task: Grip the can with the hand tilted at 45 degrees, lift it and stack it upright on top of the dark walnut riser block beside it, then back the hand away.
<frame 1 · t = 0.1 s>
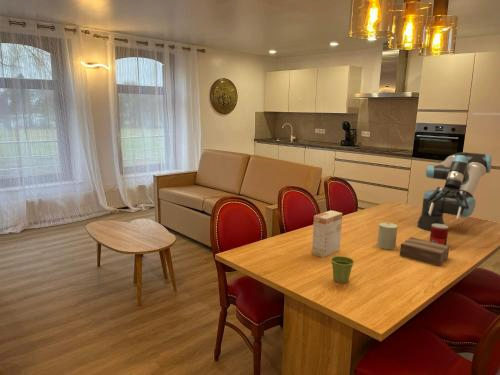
hand: (443, 216, 195), 15 cm above the table, tool tilted 35°, fingers open, 13 cm apart
canned food: (437, 245, 197), on the table
coffeecake box: (325, 252, 184), on the table
can: (386, 246, 194), on the table
plant pot: (340, 280, 153), on the table
walnut riser: (423, 256, 181), on the table
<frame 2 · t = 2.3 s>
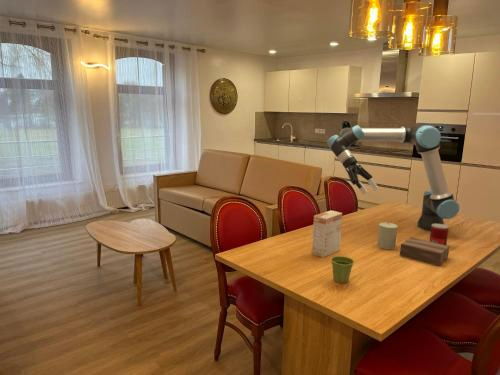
hand: (371, 191, 197), 27 cm above the table, tool tilted 45°, fingers open, 13 cm apart
nothing on the table moved.
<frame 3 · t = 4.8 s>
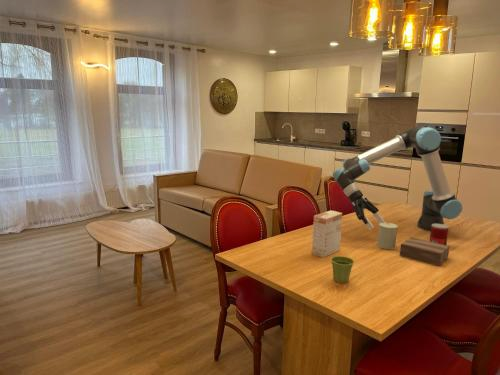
hand: (377, 226, 195), 10 cm above the table, tool tilted 45°, fingers open, 13 cm apart
nothing on the table moved.
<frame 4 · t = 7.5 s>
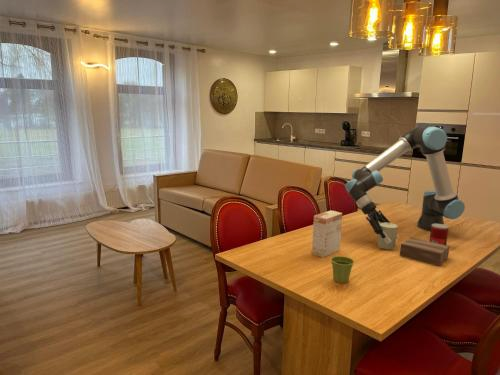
hand: (393, 240, 191), 4 cm above the table, tool tilted 45°, fingers closed on can, 9 cm apart
can: (386, 246, 194), on the table, touching gripper
everything else where it was.
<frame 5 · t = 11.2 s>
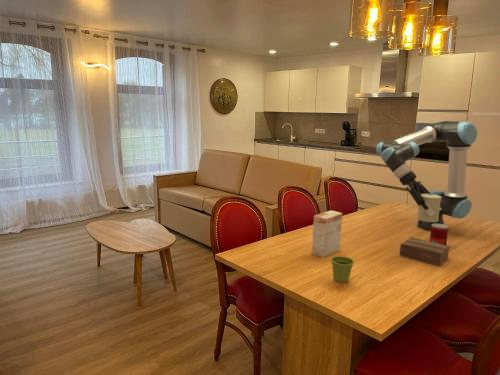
hand: (436, 212, 174), 23 cm above the table, tool tilted 45°, fingers closed on can, 9 cm apart
can: (427, 219, 177), point 19 cm above the table, touching gripper
everything else where it was.
when the fingers open (11 cm above the table, at t = 14.8 s): can drops 1 cm, resting on walnut riser.
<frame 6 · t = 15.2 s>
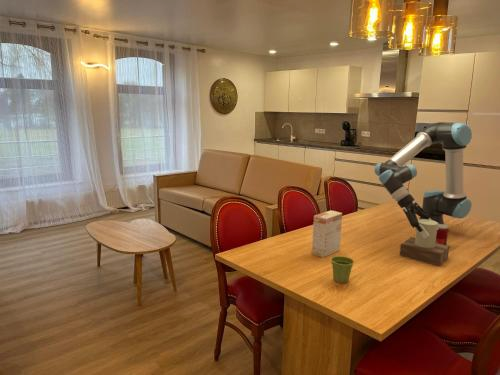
hand: (431, 233, 177), 12 cm above the table, tool tilted 45°, fingers open, 13 cm apart
can: (424, 245, 180), point 6 cm above the table, touching walnut riser
everything else where it was.
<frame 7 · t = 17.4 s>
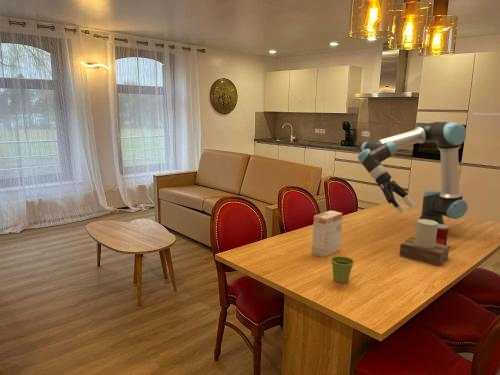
hand: (407, 209, 183), 22 cm above the table, tool tilted 45°, fingers open, 13 cm apart
nothing on the table moved.
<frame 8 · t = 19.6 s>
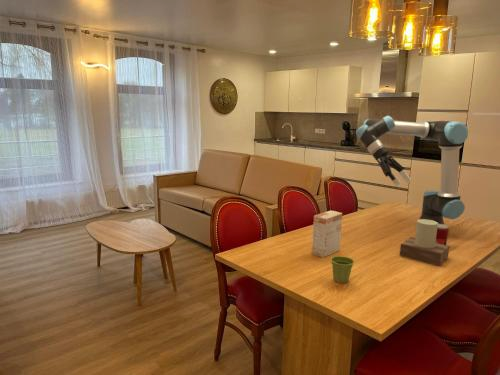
hand: (404, 183, 187), 34 cm above the table, tool tilted 45°, fingers open, 13 cm apart
nothing on the table moved.
at the end: can inside the target area on the walnut riser (0.2 cm from its centre), point 5.8 cm above the walnut riser's base; can tilted 0°; the gripper is holding nothing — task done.
